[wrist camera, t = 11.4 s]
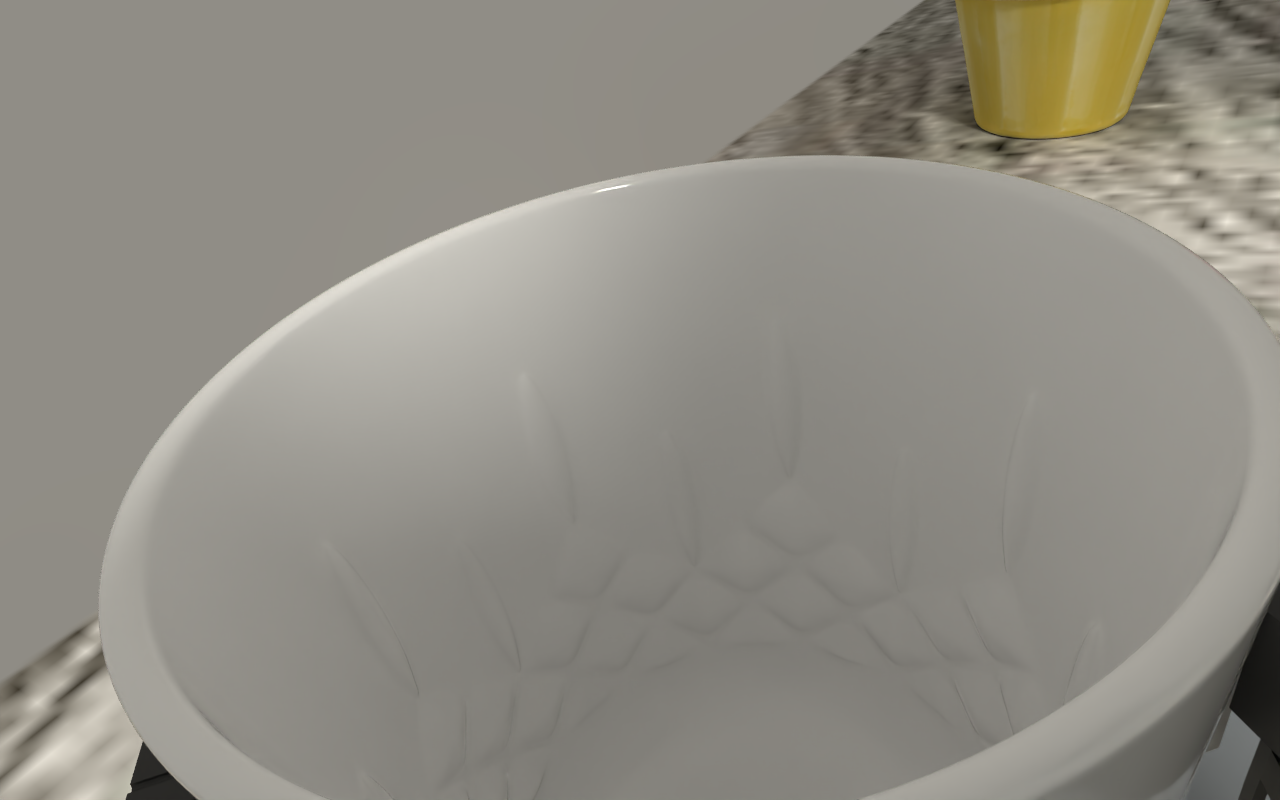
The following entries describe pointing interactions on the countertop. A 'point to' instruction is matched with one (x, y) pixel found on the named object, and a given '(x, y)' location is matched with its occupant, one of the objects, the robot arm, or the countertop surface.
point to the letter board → (1226, 764)
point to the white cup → (718, 505)
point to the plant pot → (1055, 62)
